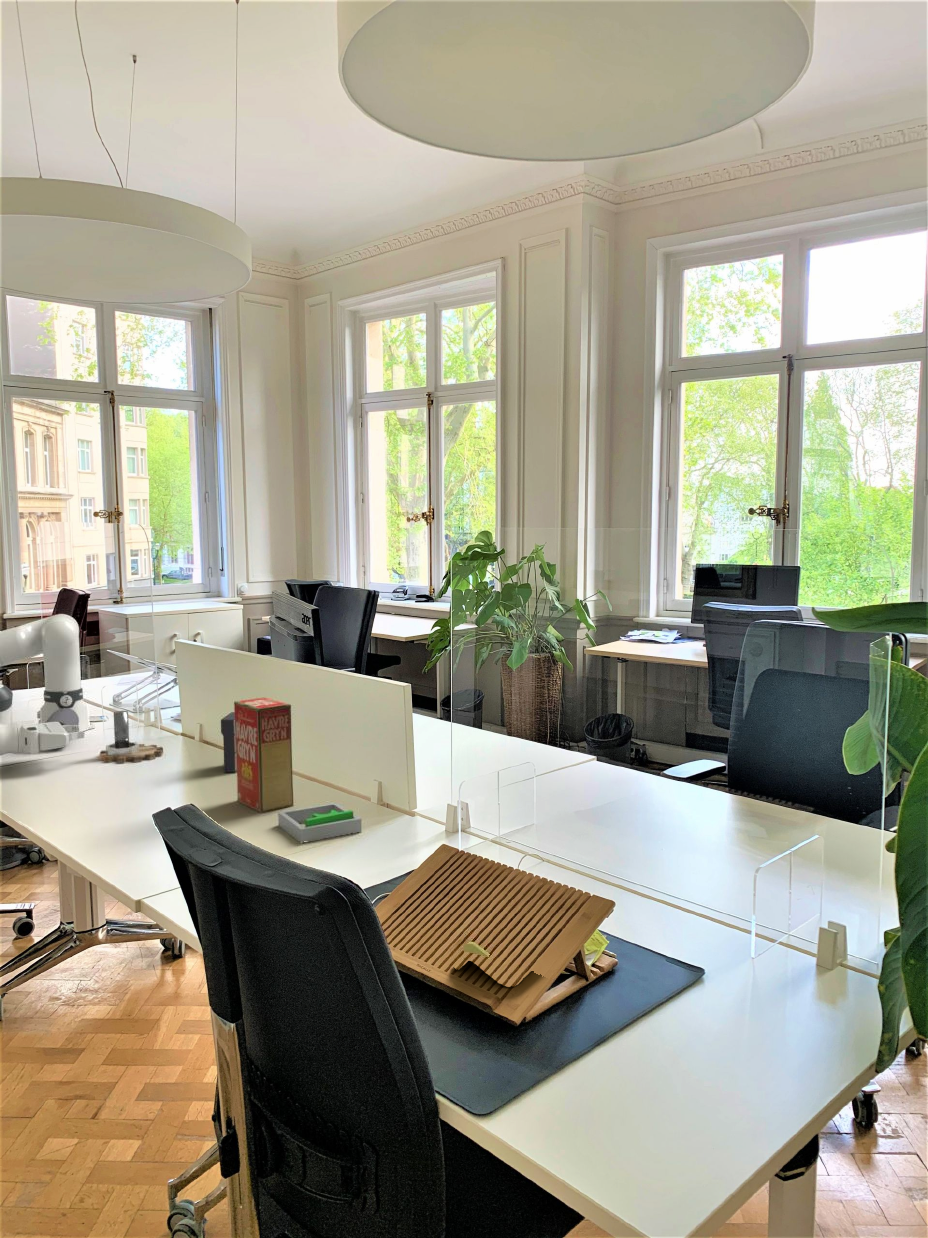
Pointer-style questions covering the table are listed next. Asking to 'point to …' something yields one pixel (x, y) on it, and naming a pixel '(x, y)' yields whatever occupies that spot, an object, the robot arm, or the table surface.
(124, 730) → the pin
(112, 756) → the sprocket
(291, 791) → the food packaging
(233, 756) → the charcoal rounded block
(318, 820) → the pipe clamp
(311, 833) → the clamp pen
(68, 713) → the bluetooth speaker
